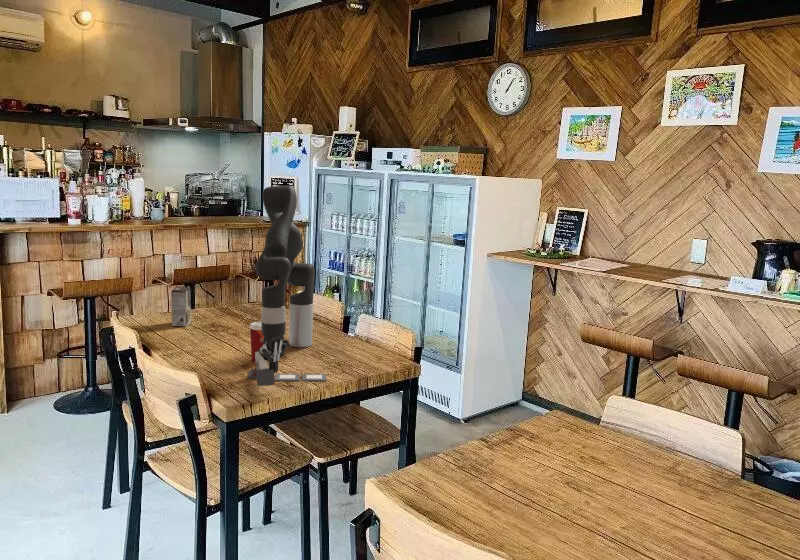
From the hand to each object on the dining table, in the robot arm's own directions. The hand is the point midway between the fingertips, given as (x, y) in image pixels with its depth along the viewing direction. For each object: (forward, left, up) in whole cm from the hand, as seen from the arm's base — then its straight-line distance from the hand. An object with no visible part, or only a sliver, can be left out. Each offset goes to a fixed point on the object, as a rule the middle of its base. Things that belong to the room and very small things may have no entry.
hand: (273, 372), depth 194 cm
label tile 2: (-10, +13, -6) cm, 17 cm away
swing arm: (-4, -4, -2) cm, 6 cm away
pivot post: (-13, -5, -6) cm, 15 cm away
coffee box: (-81, -46, -6) cm, 94 cm away
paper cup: (-29, -7, -6) cm, 31 cm away
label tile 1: (-10, +4, -6) cm, 12 cm away
